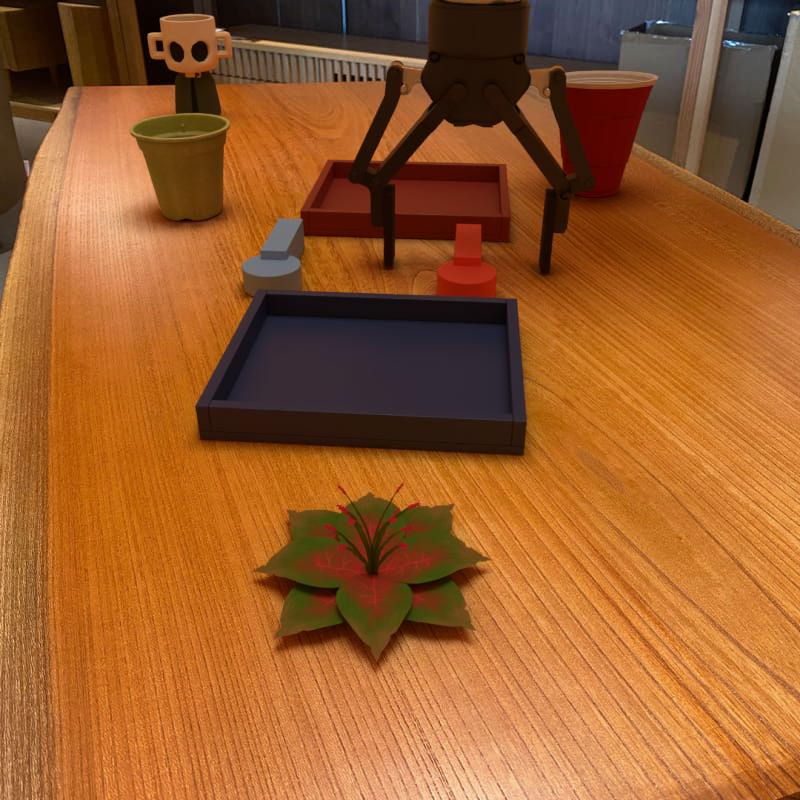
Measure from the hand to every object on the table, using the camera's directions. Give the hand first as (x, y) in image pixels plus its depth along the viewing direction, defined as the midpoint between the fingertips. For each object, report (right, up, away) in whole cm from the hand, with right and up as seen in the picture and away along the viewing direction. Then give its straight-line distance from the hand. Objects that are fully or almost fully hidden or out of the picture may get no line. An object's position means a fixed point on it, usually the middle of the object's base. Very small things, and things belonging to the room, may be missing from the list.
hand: (466, 264), depth 73 cm
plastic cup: (+15, +11, +18) cm, 26 cm away
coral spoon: (0, -1, -2) cm, 3 cm away
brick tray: (-5, +8, +13) cm, 16 cm away
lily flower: (-7, -21, -32) cm, 39 cm away
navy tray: (-7, -10, -16) cm, 20 cm away
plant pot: (-27, +7, +12) cm, 30 cm away
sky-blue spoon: (-16, -1, -1) cm, 16 cm away
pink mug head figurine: (-34, +27, +44) cm, 62 cm away
